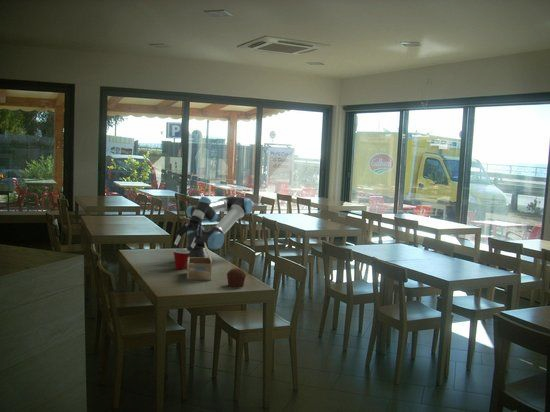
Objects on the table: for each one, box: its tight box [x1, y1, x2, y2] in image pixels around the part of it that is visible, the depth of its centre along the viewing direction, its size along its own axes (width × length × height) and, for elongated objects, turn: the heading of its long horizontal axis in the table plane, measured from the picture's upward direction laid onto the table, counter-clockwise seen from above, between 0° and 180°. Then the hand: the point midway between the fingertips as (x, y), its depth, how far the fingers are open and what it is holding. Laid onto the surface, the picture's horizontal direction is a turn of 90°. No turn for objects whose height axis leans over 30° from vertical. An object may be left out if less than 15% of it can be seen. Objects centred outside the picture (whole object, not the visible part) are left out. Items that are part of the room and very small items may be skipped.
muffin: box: [226, 267, 247, 288], centre depth 334 cm, size 12×11×10 cm
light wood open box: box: [186, 257, 213, 281], centre depth 353 cm, size 21×14×10 cm
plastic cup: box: [173, 248, 190, 270], centre depth 373 cm, size 11×11×12 cm
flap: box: [204, 242, 213, 264], centre depth 353 cm, size 19×1×10 cm, turn 7°
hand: (183, 245), depth 370 cm, fingers open, 13 cm apart
